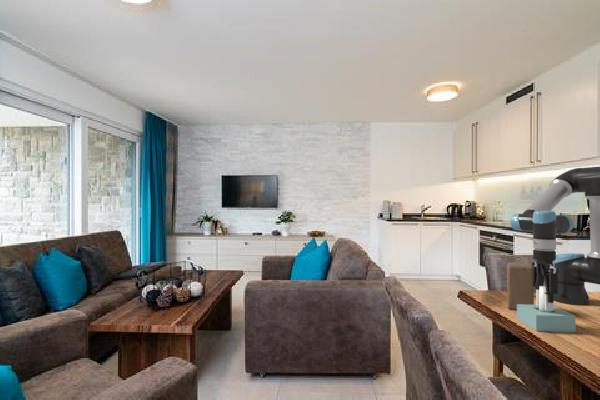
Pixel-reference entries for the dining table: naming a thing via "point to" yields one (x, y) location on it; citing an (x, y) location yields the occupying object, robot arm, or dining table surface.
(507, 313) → the dining table surface
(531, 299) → the wooden block
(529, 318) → the socket
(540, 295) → the peg
